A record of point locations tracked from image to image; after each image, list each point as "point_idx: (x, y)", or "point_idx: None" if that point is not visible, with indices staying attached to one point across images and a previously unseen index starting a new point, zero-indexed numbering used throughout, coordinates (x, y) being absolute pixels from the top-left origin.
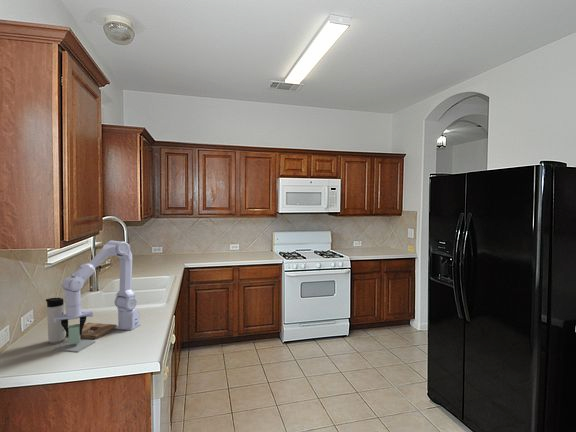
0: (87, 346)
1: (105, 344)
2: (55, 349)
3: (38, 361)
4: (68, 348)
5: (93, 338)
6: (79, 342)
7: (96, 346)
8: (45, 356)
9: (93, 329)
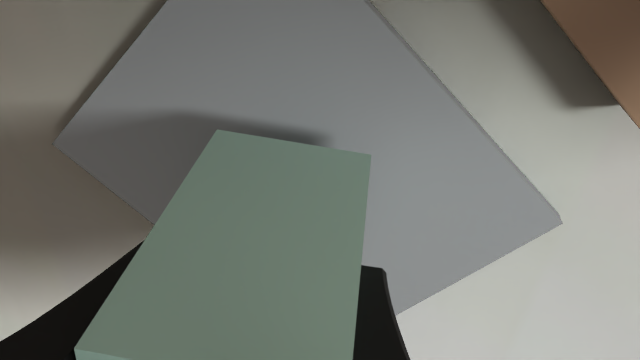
0: (432, 288)
1: (626, 340)
2: (82, 164)
3: (6, 312)
4: None
5: (592, 68)
6: (362, 131)
7: (520, 329)
8: (30, 251)
9: None
